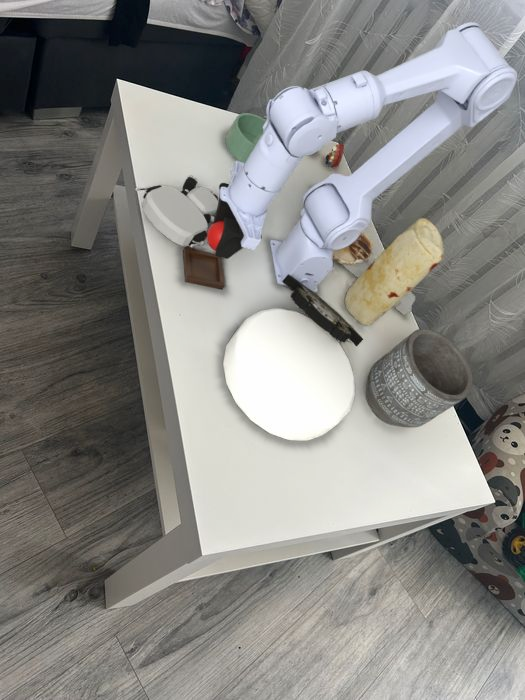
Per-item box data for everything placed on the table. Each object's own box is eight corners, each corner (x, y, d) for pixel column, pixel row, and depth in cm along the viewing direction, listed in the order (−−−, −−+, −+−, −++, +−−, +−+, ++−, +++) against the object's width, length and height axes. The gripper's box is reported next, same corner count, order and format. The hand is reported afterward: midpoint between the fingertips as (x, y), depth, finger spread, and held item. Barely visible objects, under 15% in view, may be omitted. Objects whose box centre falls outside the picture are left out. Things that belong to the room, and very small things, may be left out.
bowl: (273, 174, 115) (285, 157, 111) (228, 159, 110) (238, 141, 107) (267, 140, 120) (278, 123, 116) (223, 125, 115) (233, 106, 112)
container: (206, 322, 87) (219, 304, 83) (313, 321, 98) (329, 305, 95) (247, 450, 79) (264, 435, 75) (359, 432, 90) (378, 419, 87)
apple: (231, 262, 88) (248, 239, 84) (203, 255, 86) (218, 231, 82) (228, 239, 90) (244, 215, 86) (200, 231, 88) (215, 207, 84)
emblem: (363, 334, 100) (364, 351, 86) (356, 341, 101) (357, 359, 86) (291, 272, 100) (280, 278, 86) (285, 279, 100) (273, 286, 86)
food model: (377, 333, 104) (457, 263, 90) (345, 325, 102) (423, 251, 87) (367, 289, 110) (441, 217, 95) (337, 281, 107) (409, 204, 92)
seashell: (358, 208, 100) (383, 255, 105) (342, 203, 105) (366, 248, 110) (322, 236, 100) (348, 282, 105) (308, 229, 105) (333, 273, 110)
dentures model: (307, 143, 120) (340, 164, 121) (317, 126, 121) (349, 148, 122) (299, 153, 125) (331, 174, 127) (309, 137, 126) (340, 158, 127)
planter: (429, 425, 98) (486, 390, 89) (381, 445, 91) (438, 409, 81) (392, 362, 102) (443, 322, 93) (343, 377, 94) (393, 334, 85)
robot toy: (183, 184, 102) (123, 207, 91) (194, 164, 99) (134, 185, 88) (233, 235, 101) (178, 264, 90) (246, 217, 98) (191, 244, 87)
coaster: (222, 290, 92) (225, 286, 91) (184, 282, 89) (187, 278, 88) (218, 259, 95) (221, 255, 94) (182, 250, 92) (184, 246, 92)
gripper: (230, 129, 79) (191, 199, 89) (242, 208, 72) (198, 275, 82) (275, 145, 83) (233, 211, 93) (291, 222, 75) (244, 285, 85)
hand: (220, 242), depth 87 cm, fingers closed on apple, 4 cm apart
